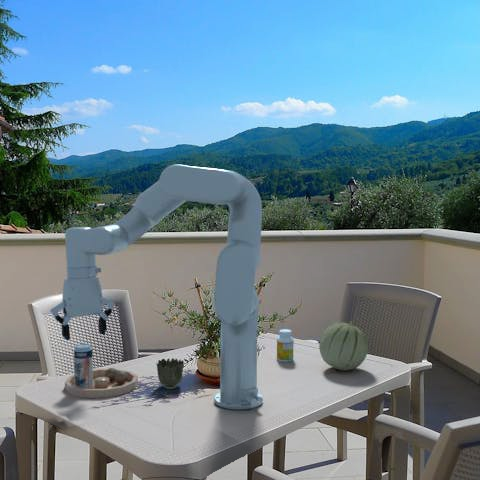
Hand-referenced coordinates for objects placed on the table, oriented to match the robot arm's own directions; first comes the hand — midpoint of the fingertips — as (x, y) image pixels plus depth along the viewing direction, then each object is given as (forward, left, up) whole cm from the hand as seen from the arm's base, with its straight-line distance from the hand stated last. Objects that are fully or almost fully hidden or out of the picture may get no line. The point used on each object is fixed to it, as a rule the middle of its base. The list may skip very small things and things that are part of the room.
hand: (84, 336), depth 164 cm
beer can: (0, 0, -15) cm, 15 cm away
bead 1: (+4, -9, -15) cm, 17 cm away
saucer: (0, -5, -16) cm, 16 cm away
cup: (-10, -21, -16) cm, 28 cm away
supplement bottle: (-2, -66, -16) cm, 68 cm away
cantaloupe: (-20, -75, -16) cm, 79 cm away
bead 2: (0, -10, -15) cm, 18 cm away
